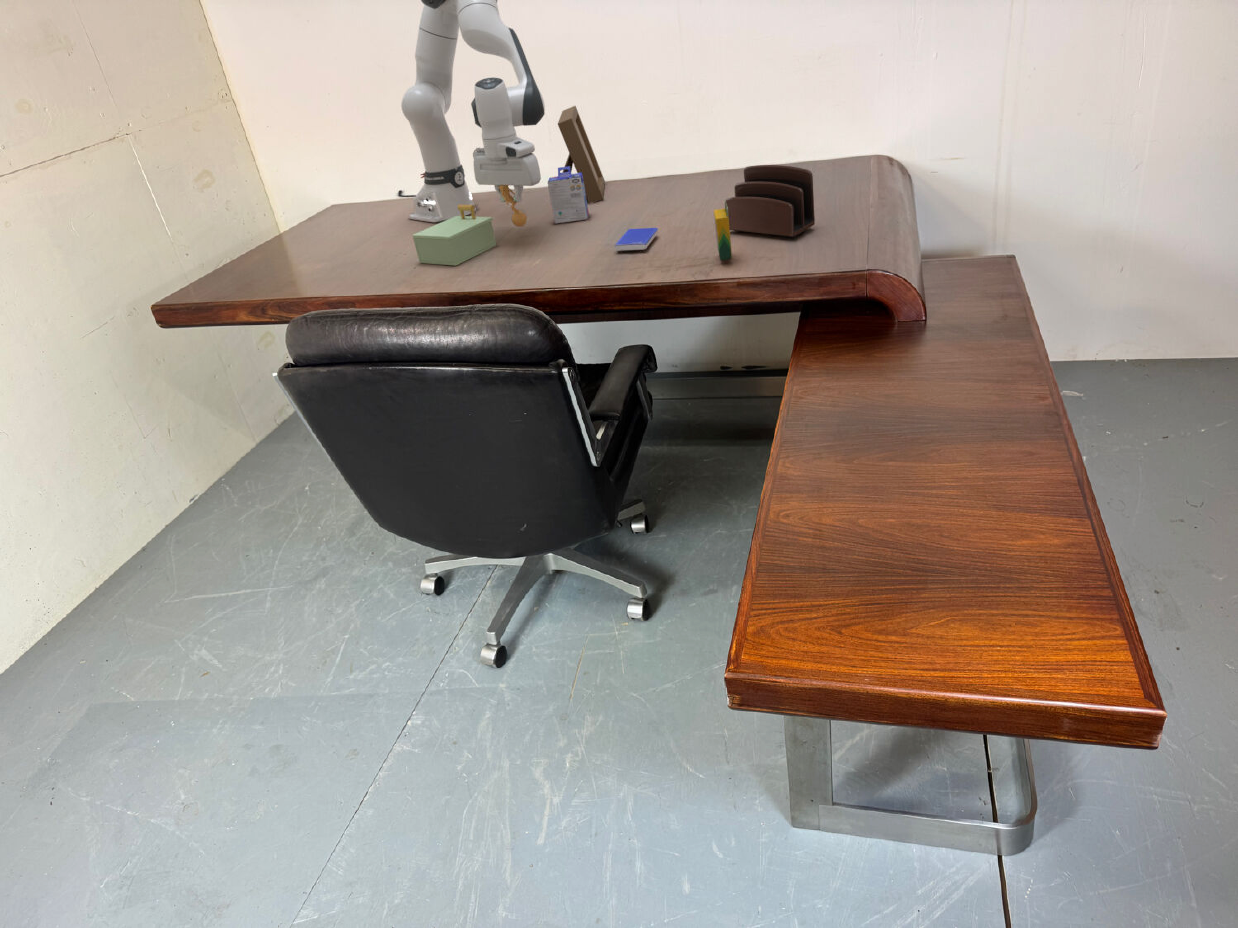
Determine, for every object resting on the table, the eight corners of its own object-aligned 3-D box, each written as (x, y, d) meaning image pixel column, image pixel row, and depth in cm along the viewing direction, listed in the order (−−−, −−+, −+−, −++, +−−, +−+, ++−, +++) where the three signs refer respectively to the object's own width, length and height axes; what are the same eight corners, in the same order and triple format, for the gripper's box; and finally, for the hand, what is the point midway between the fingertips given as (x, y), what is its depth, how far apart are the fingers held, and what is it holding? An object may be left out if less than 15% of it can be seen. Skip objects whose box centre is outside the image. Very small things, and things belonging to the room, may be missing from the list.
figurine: (524, 231, 223) (517, 185, 217) (502, 232, 224) (494, 186, 218) (530, 221, 230) (524, 176, 223) (509, 222, 231) (502, 177, 224)
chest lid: (456, 218, 236) (452, 202, 233) (493, 220, 229) (489, 203, 226) (412, 238, 224) (408, 220, 222) (449, 240, 217) (445, 222, 214)
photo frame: (605, 184, 275) (593, 102, 262) (603, 202, 257) (590, 115, 243) (560, 190, 276) (546, 110, 263) (555, 208, 258) (540, 123, 245)
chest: (460, 243, 239) (454, 219, 235) (496, 245, 232) (491, 220, 228) (419, 263, 227) (412, 238, 224) (456, 265, 220) (449, 240, 217)
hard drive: (645, 243, 208) (657, 227, 218) (614, 244, 210) (627, 229, 220) (646, 249, 209) (658, 233, 219) (615, 250, 211) (628, 234, 221)
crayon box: (717, 250, 199) (713, 201, 193) (729, 249, 199) (726, 200, 193) (719, 261, 193) (715, 210, 187) (732, 259, 193) (728, 208, 187)
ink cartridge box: (589, 214, 246) (581, 163, 238) (588, 219, 241) (580, 168, 234) (556, 219, 247) (547, 168, 239) (554, 224, 242) (545, 173, 234)
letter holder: (748, 218, 218) (745, 162, 211) (815, 225, 206) (814, 166, 198) (725, 230, 212) (721, 173, 205) (793, 238, 200) (791, 178, 193)
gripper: (463, 150, 220) (475, 204, 227) (523, 150, 209) (533, 206, 216) (479, 145, 224) (490, 197, 231) (539, 144, 213) (548, 199, 221)
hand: (511, 201), depth 224 cm, fingers closed on figurine, 3 cm apart
